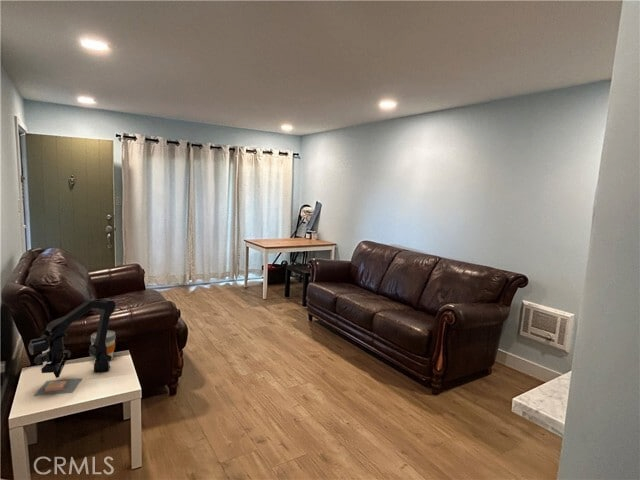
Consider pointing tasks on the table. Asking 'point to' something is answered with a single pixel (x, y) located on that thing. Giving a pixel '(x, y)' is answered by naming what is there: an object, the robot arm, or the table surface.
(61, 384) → the tile
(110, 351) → the reusable coffee cup
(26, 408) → the table surface
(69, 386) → the mat
